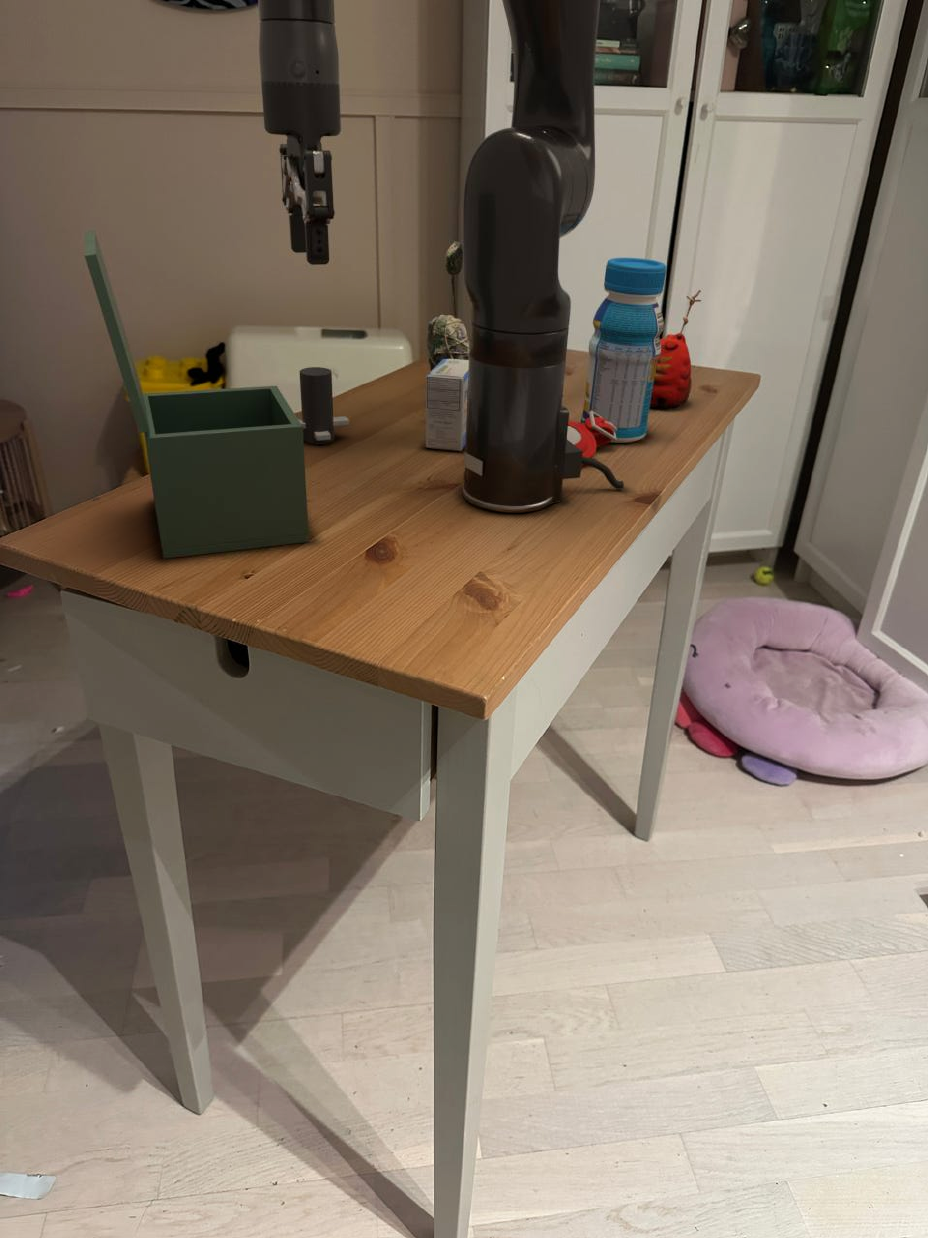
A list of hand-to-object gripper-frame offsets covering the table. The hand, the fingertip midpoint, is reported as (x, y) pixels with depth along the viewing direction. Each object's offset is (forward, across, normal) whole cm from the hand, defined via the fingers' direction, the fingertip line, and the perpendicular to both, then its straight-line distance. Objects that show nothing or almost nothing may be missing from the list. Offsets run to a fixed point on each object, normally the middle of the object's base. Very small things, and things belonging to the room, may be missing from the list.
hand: (309, 257), depth 94 cm
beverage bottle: (+20, -7, -35) cm, 41 cm away
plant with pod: (+20, +8, -20) cm, 30 cm away
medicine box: (+20, -4, -15) cm, 25 cm away
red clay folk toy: (+20, +4, -49) cm, 53 cm away
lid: (+2, -21, +20) cm, 29 cm away
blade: (+20, 0, 0) cm, 20 cm away
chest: (+20, -21, +13) cm, 32 cm away
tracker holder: (+20, -12, -27) cm, 36 cm away
